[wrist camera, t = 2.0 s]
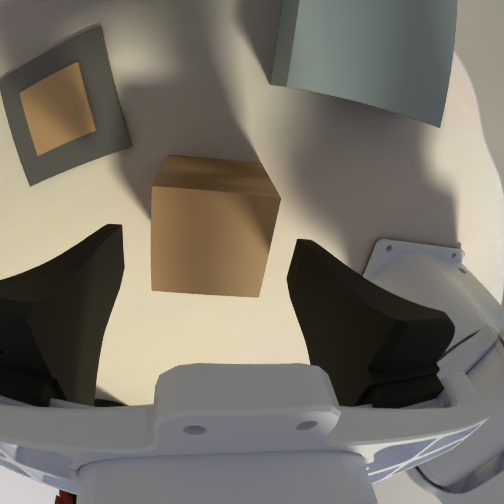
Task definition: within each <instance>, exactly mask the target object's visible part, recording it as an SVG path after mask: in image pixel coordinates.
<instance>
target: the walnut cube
mask: <svg viewBox="0 0 504 504" xmlns="http://www.w3.org/2000/svg"><path fill="white" fill-rule="evenodd" d="M280 200H281V197H280V196H279V194H278V192H277V190H276V188H275V187H274V185H273V183H272V181H271V180H270V178H269V176H268V174H267V172H266V171H265V169H264V167H263V165H262V164H255V163H247V162H239V161H230V160H221V159H211V158H200V157H188V156H176V155H168V157H167V158H166V160H165V162H164V164H163V166H162V168H161V170H160V171H159V173H158V175H157V177H156V179H155V181H154V183H153V185H152V198H151V284H152V291H163V292H176V293H190V294H205V295H221V296H239V297H259V294H260V290H261V285H262V281H263V277H264V272H265V268H266V263H267V259H268V255H269V250H270V246H271V241H272V237H273V232H274V228H275V223H276V219H277V214H278V210H279V205H280Z"/></svg>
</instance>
